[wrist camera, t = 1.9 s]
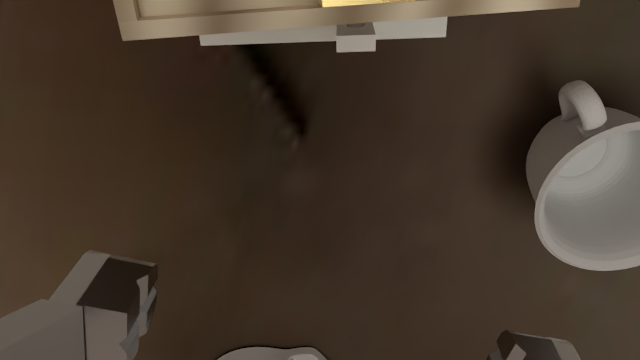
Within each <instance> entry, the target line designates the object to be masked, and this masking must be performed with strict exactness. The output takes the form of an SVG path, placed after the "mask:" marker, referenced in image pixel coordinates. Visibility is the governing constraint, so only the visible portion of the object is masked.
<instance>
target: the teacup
mask: <svg viewBox="0 0 640 360" xmlns="http://www.w3.org/2000/svg"><path fill="white" fill-rule="evenodd" d="M558 97H559V103H560V107H561V112H562V115H560V116H558V117H556V118H554V119H552V120H551V121H549V122H548V123H547V124H546V125H545V126H544V127H543V128H542V129H541V130H540V132H539V133H538V134H537V136H536V137H535V139H534V140H533V142H532V144H531V146H530V149H529V151H528V155H527V160H526V176H527V181H528V185H529V188H530V191H531V193H532V196H533V198H534V201H535V203H536V206H535V226H536V231H537V233H538V236H539V238H540V240H541V242H542V243H543V245H544V246H545V247H546V248H547V250H548V251H549V252H550V253H552V254H553V255H554V256H555V257H557V258H558V259H560V260H562V261H563V262H565V263H568V264H570V265H572V266H575V267H579V268H582V269H588V270H597V271H610V270H620V269H627V268H631V267H635V266H639V265H640V118H639V117H636V116H634V115H632V114H629V113H626V112H624V111H621V110H618V109H614V108H609V107H604V105H603V103H602V101H601V99H600V98H599V96H598V94H597V93H596V92H595V91H594V89H593V88H592V87H591V86H590V85H589V84H587V83H586V82H584V81H581V80H575V81H572V82H569V83H567V84H566V85H564V86H563V87H562V88H561V89H560V91H559V96H558Z"/></svg>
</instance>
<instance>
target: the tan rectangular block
mask: <svg viewBox="0 0 640 360" xmlns="http://www.w3.org/2000/svg"><path fill="white" fill-rule="evenodd" d="M316 1H317V2H318V3H319V4H320V5H321V6H322V7H336V6H350V5H364V4H378V3H392V2H406V1H416V0H316Z"/></svg>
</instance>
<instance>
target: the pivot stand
mask: <svg viewBox="0 0 640 360" xmlns="http://www.w3.org/2000/svg"><path fill="white" fill-rule="evenodd" d="M446 28H447V17H436V18H423V19H409V20H396V21H382V22H369V23H364V26H363V27H358V28H351V27H347V24H342V25H329V26H316V27H302V28H289V29H275V30H262V31H249V32H235V33H222V34H209V35H199V37H200V44H201V46H207V45H235V44H264V43H292V42H320V41H336V47H337V52H363V51H376V40H377V39H405V38H433V37H446Z"/></svg>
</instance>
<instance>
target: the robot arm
mask: <svg viewBox="0 0 640 360" xmlns="http://www.w3.org/2000/svg"><path fill="white" fill-rule="evenodd" d="M157 278H158V266H157V265H156V264H155V263H150V262H146V261H141V260H136V259H131V258H127V257H122V256H117V255H110V254H106V253H101V252H97V251H92V250H90V251H88V252H86V253H85V254H83V256H82V257H81V258H80V260H79V261H78V262H77V264H76V265H75V266H74V268H73V269H72V270H71V271H70V273H69V274H68V275H67V277H66V278H65V279H64V281H63V282H62V283H61V285H60V286H59V287H58V288H57V290H56V291H55V292H54V294H53V295H52V296H51V298H50V299H49V300H44V299H41V300H38V301H36V302H34V303H32V304H30V305H28V306H26V307H23V308H21V309H19V310H17V311H15V312H13V313H11V314H8V315H6V316H4V317H2V318H0V360H133V359H134V357H135V355H136V353H137V351H138V346H139V337H141V336H142V335H144V334H145V333H146V332H147V330H148V327H149V325H150V323H151V320H152V317H153V314H154V310H155V305H156V298H157V292H156V290H155V289H154V288H153V286H154V284H155V282H156V280H157ZM497 344H498V347H499V349H497V350H495V351H493V352H492V353H490V354H489V355H488V357H487V359H486V360H581V359H580V358H579V356H578V354H577V352H576V350H575V348H574V346H573V345H572V344H571V343H570V342H569V341H566V340H561V339H555V338H549V337H542V336H537V335H531V334H526V333H520V332H514V331H509V330H505V331H503V332H502V333H501V334H500V335H499V337H498V339H497ZM217 360H327V359H326V358H325V357H324V356H323V355H322V354H321V353H320V352H319V351H318V350H316V349H315V348H311V347H301V348H294V349H276V348H269V347H250V348H243V349H239V350H235V351H232V352H229V353H227V354H225V355H223V356H222V357H220V358H219V359H217Z"/></svg>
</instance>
